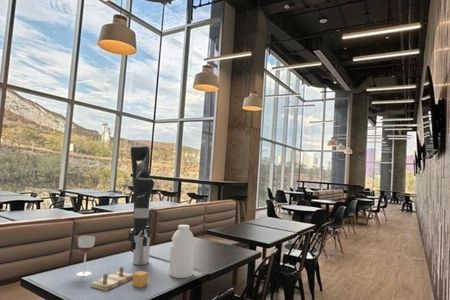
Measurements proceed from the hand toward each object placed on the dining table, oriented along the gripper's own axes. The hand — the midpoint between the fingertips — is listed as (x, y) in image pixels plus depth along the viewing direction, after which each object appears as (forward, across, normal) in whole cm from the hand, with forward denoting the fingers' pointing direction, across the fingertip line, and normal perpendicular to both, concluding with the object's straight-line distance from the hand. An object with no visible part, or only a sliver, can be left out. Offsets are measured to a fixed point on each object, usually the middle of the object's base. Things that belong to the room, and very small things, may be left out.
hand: (138, 247), depth 160 cm
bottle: (+19, -27, +10) cm, 34 cm away
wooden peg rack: (+19, +4, -12) cm, 23 cm away
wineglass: (+19, +3, -34) cm, 39 cm away
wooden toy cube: (+19, -1, +1) cm, 19 cm away
